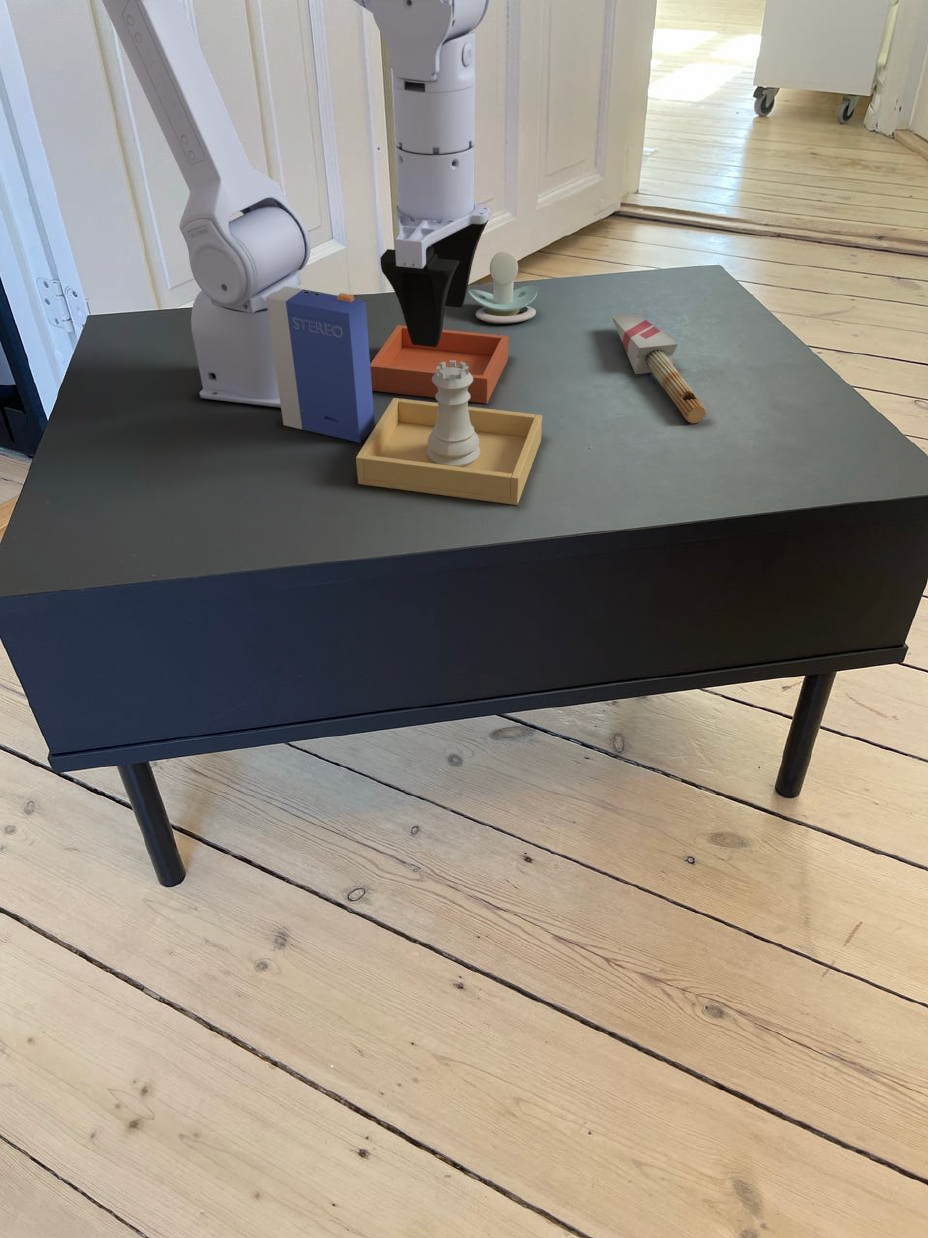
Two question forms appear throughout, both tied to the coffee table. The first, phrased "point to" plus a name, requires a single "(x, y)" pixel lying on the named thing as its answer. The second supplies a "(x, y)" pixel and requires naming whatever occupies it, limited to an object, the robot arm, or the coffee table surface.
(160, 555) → the coffee table surface
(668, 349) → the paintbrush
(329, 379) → the walkman
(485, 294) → the pacifier
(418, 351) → the terracotta tray
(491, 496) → the birch tray
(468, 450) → the rook chess piece
